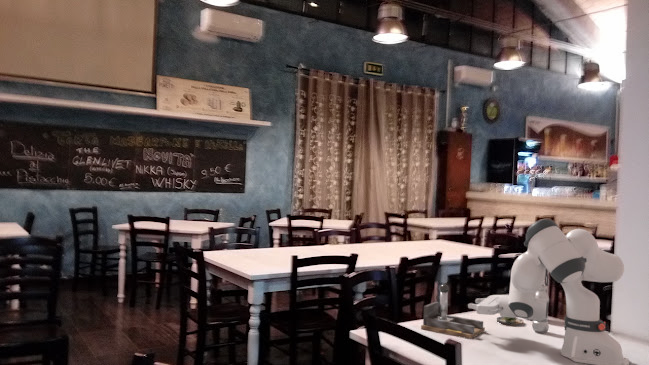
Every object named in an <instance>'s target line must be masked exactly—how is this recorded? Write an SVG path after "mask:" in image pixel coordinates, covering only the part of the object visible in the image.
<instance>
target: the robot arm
mask: <svg viewBox="0 0 649 365" xmlns="http://www.w3.org/2000/svg"><path fill="white" fill-rule="evenodd" d="M523 245H524V246H525V247H526V248H527V250H526V251H525V252H523V253H522V254H520V255H518V257H517V258H516V259H515V260H514V262H513V265H512V267H511V270H510V282H509V291H508V292H509V293H506V294H492V295H489V296H487V297H483V298H475V300H474V302H475V303H473V302H470V303H468V304H467V308H468V309H473V310H475V311H476V314H477V315H489V316H493V315H494V316H495V315H496V314H499V317H509V318H519V319H522V320H527V319H531V320H541V319H546V317H548V312H549V303H548V302H547V300H545V299H541V298H535V297H536V291H538V290H539V289H540V288H541V286H542V285H544V281H545V274H546V269H547V270H548V273H550V274H549V275H550V276H551V277H552V279H554V280H555V281H556V282H557V284H558V283H560V285H561V286H562V288H563V291H564V295H565V305H566V310H565V311H566V314H565V316H564V326H563V327H564V339H563V342H562V347H561V349H560V355H562V356H564V357H566V358H568V359H570V360H572V361H573V362H575V363H582V364H589V365H630V359H629V358H628V357H627V356H624V354H623V349H622V346H621V344H620V342H619V341H618V340H616V339H615V337H613V336H611V335H610V334H609V333H608V332H607V331H606V321H603V320H602V319H600V309H601V307H600V305H601V301H600V298H599V296H598V294H596V293H595V292H593V291H592V290H589V289H588V288H586V287H585V286H583V283H582V282H583V281H584V282H585V281H587V282H596V283H614V282H615V283H616V282H619V280H620V279H621V278H622V277H623V275H624V272H625V265H624V263H623V260H622V259H621V257H620V256H619V255H618V254H614V253H610V252H608V251H605V250H603V249H601V248H599V244H598V241H597V240H596V238H595V236H594V235H592V233H590V231H588V230H586V229H583V228H575V229H571V230H570V231H569V232H567V234H565V233H564V232H563V231H562V230H561V228H559V225H558V224H557V223H556V222H555V221H554V220H552V219H551V218H542V219H539V220H537V221H535V222H533V223H532V224H530V225H529V227H528V228H527V230H526V233H525V241H524V242H523ZM531 320H530V321H531Z"/></svg>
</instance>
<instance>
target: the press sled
mask: <svg viewBox="0 0 649 365" xmlns="http://www.w3.org/2000/svg"><path fill="white" fill-rule="evenodd" d="M438 288H439V293H440V294H439V314H440V316H438V317H436V318H434V319H439V320H444V321H450V322H454V319H453V318H448V317H447V315H448V305H449V304H448V302H449V301H448V299H449V298H448V296H449V291H450V287H449V285H447V284H446V283H444V284H443V283H442V284H441V285H440V286H439V287H438Z"/></svg>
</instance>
